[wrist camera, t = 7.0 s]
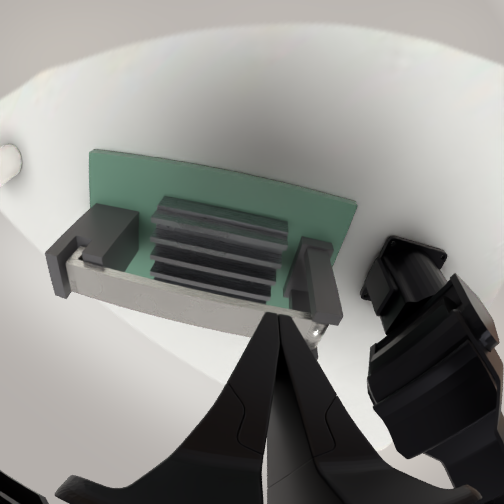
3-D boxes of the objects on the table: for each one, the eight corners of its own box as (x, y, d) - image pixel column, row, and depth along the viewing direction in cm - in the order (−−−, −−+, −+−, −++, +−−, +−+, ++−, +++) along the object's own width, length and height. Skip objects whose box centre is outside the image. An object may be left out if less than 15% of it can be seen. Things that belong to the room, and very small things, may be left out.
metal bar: (327, 300, 19) (331, 327, 17) (314, 325, 20) (317, 352, 18) (80, 245, 18) (63, 265, 16) (84, 273, 19) (69, 293, 17)
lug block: (138, 211, 22) (94, 267, 16) (138, 250, 24) (101, 310, 18) (96, 203, 21) (44, 253, 15) (98, 240, 23) (55, 295, 17)
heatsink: (287, 221, 21) (289, 241, 19) (265, 294, 25) (263, 317, 23) (164, 195, 21) (151, 212, 18) (160, 271, 25) (150, 293, 22)
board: (355, 201, 21) (357, 205, 20) (307, 313, 27) (308, 319, 26) (94, 149, 20) (89, 152, 19) (100, 267, 26) (96, 272, 25)
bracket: (331, 243, 22) (351, 314, 16) (310, 294, 25) (318, 367, 19) (301, 236, 22) (311, 307, 16) (282, 289, 25) (283, 363, 18)
